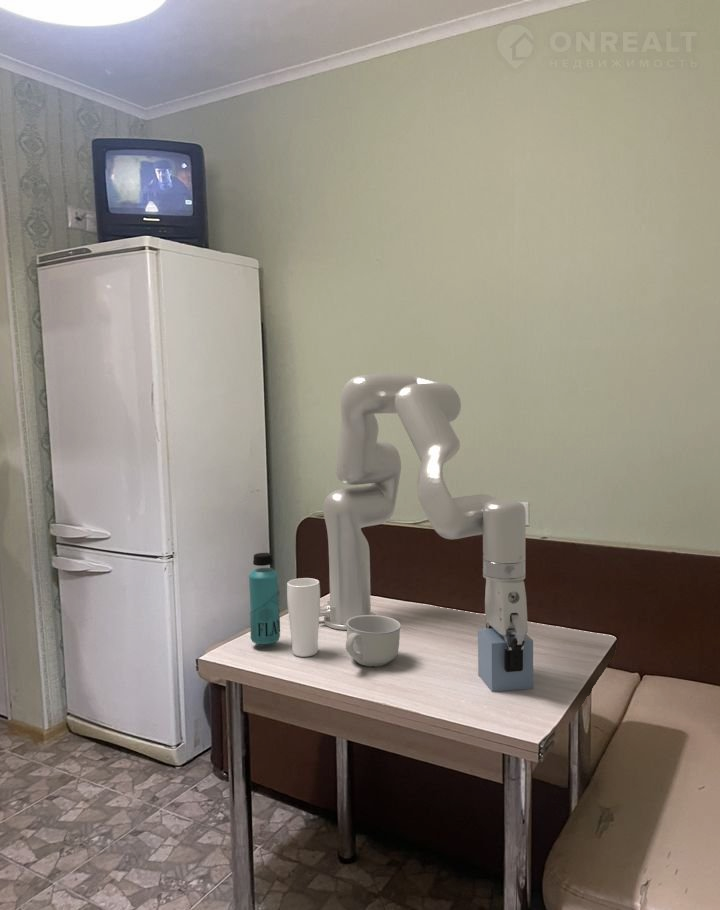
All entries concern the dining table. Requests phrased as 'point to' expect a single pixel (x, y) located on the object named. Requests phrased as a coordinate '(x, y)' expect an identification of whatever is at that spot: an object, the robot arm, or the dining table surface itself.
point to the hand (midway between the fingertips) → (503, 660)
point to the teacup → (372, 639)
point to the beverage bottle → (264, 601)
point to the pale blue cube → (502, 662)
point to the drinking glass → (304, 615)
